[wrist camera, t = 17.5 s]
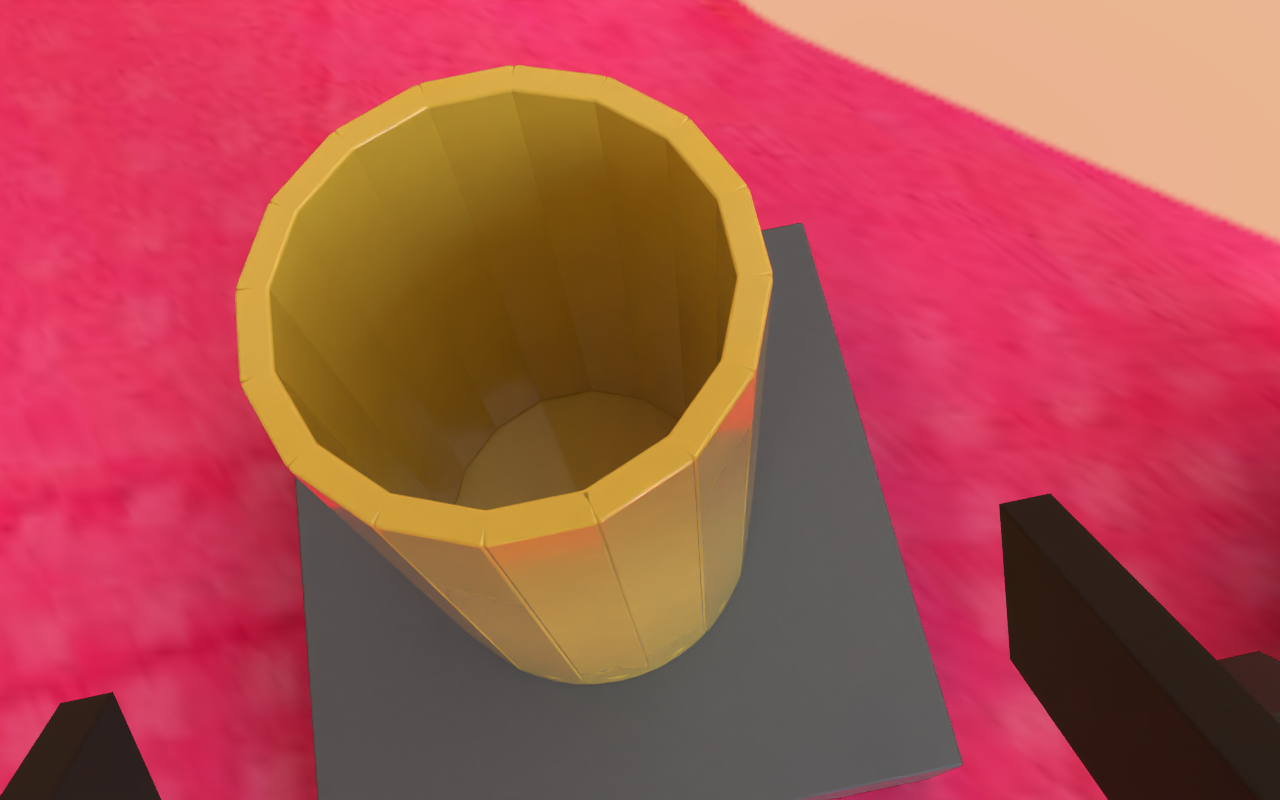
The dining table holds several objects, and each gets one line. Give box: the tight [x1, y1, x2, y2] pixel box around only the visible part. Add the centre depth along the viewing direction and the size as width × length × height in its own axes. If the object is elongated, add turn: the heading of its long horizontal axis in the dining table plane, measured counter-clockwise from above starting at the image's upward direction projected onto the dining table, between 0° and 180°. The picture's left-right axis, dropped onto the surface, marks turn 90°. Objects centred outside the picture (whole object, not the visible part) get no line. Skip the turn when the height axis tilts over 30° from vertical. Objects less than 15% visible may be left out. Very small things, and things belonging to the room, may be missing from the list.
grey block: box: [295, 223, 963, 800], centre depth 28 cm, size 14×14×4 cm
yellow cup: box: [235, 65, 773, 684], centre depth 21 cm, size 7×7×12 cm
